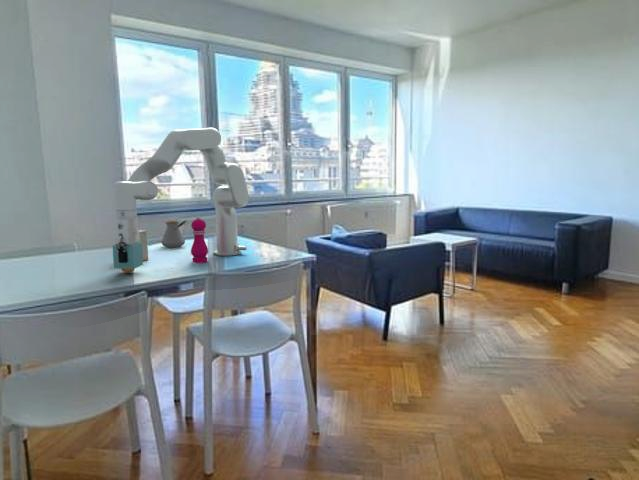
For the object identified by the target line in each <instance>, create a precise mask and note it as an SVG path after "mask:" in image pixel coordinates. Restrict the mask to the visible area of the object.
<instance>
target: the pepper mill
mask: <svg viewBox="0 0 639 480" xmlns="http://www.w3.org/2000/svg"><path fill="white" fill-rule="evenodd" d="M191 228H192V234H193V244H192V246H191V249H190V254H191V256H192V263H194V264H204V263H207V262H208V257H207V256H208V254H209V248H208V246H207V244H206V241H205V234H206V230H205V229H206V228H207V224H206V221H205V220H204V219H201V216H200V215H197V216H195V219H194V220H193V221H192V222H191Z"/></svg>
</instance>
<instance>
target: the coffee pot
mask: <svg viewBox="0 0 639 480" xmlns="http://www.w3.org/2000/svg"><path fill="white" fill-rule="evenodd" d="M188 223H189V221H187V220H183V221H182V222H180V221H176V220H175V221H172V220H171V221H170V220H169V221H166V222H165V225H166V228H165V231H164V234H163V236H162V238H161V245H162V246H163V247H165V249H179V248H182V246H184V245H185V243H186V239H185V238H184V236H183V234H182V231H181V230H180V227H181V226H183V225H188Z"/></svg>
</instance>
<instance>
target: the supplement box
mask: <svg viewBox="0 0 639 480" xmlns="http://www.w3.org/2000/svg"><path fill="white" fill-rule="evenodd" d="M147 234H148V233H147V230H146V229H145V230H143V229H139V236H140V241H139V242H142V256H143V262H145V261H148V260H149V251H148V250H149V249H148V235H147Z"/></svg>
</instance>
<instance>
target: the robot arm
mask: <svg viewBox="0 0 639 480" xmlns="http://www.w3.org/2000/svg"><path fill="white" fill-rule="evenodd" d="M221 141H222V135H221V133H220V132H219V130H218V129H216V128H214V127H204V128H203V127H199V128H182V129H173V130H171V131H170V132H169V133H168V134H167V136H166V137H165V139H164V140H163V141H162V142H161V144H160V145H159V147H158V148H157V150H156V151H155V152H154V153H153V155H152V156H151V157H149V158H148V159H147V160H146V161H144V162H143V163H142V164H141V165H140V166H138V167H137V168H136V169H135V170H134V172H133V173H132V174H131V176H129V178H128V180H127V181H125V180H124V181H116V182H114V184H113V196H114V213H115V214H114V215H115V216H114V217H115V219H116V221H115V240H116V241H115V242H114V245H116V248H117V252H118V258H119V263H127V262H128V258H127V252H126V249H127V248H126V245H132V244H135V243H138V242H139V241H140V236H139V230H140V227H139V221H138V211H137V201H139V200H141V201H151V200H154V199H156V198H157V196H158V195H159V194H158V193H159V189H158V186H157V184H156V183H154V182H153V181H152V180H154V178H156V177H157V176H159V175H163V174H165V173H167V172H169V171H171V170H172V169H173V168H174V166H175V164H176V162H177V161H178V160H179V158H180V157H181V155H183V153H184V152H186V151H200V153H201V155H203V156H204V159H205V161H206V166H207V169H208V173H209V177H210V179H211V181H212V182H213V183H214V184H216V185H221V186H218V187H217V188H215V189H214V190H213V194H212V195H213V197H212V198H213V204H214V209H215V225H216V230H215V231H216V250H214V251H213V254H214V255H216V256H223V257H227V256H229V257H230V256H237V255H240V254H241V253H242V251H247V250H248V249H247V246H246V245H240V243H239V242H238V216H237V215H238V214H237V211H236V208H243V207H246V206H247V205H248V202H249V197H250V196H249V189H248V186H247V182H246V177H245V173H244V171H243V169H242V167H240V166H239V165H238V164H237V163H234V162H233V163H232V162H227V160H226V157H225V154H224V150H223V148H222V146H221V145H220V144H221ZM122 246H124V248H123V247H122Z"/></svg>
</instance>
